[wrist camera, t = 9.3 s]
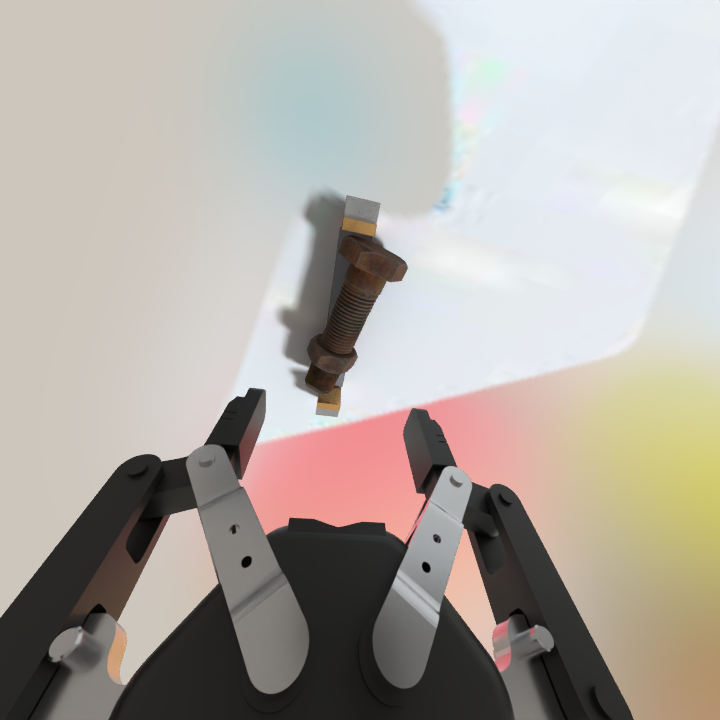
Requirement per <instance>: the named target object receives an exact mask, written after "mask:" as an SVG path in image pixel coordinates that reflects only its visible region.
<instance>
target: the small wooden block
mask: <svg viewBox="0 0 720 720" xmlns="http://www.w3.org/2000/svg"><path fill="white" fill-rule="evenodd" d="M340 404H341V387H339V386H334V388H333V391H331V392H329V393H328V394H320V393H319V395H318V402H317V409H316V415H324V416H334V417H338V412H339V410H340Z"/></svg>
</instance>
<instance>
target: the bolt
mask: <svg viewBox="0 0 720 720" xmlns="http://www.w3.org/2000/svg"><path fill="white" fill-rule="evenodd" d="M338 253H339V254H341V255H342V256H343V257H344V258H345V259H347V260H348V261H349V262H350V265H349V267H348V270H347V272H346V275H345V280H344V283H343V286H342V287H341V290H340V294H339V295H338V296H339V297H338V298H337V300H336V304H335V305H334V308H333V310H332V313H331V315H330V317H329V320H328V323H327V326H326V329H325V331H324V333H323V334H319V335H317V336H315V337H314V338H313V339H311V340H310V343H309V345H308V348H307V351H308V355H309V357H310V359H311V361H312V363H311V365H310V368H309V370H308V373H307V376H306V378H305V381H306V385H307V386H308V387H309V388H311V389H313V390H314V391H316V392H318V393H320V394H328V393H329V392H331V391H333V388H334V386H335V384H336V382H337V380H338V378H339V375H340V374H343V373H345V372H347V371H348V370H349V369H350V368H351V367H352V366H353V365H354V363H355V361H356V359H357V357H358V356H357V353H356V351H355V349H354V347H353V346H354V345H355V343H356V340H357V338H358V336H359V334H360V332H361V330H362V328H363V325H364V324H365V322H366V319H367V316H368V315H369V313H370V312H371V309H372V306H373V305H374V303H375V302H376V299H377V297H378V295H380V293H381V291H382V289H383V287H384V285H385V283H386V281H388V282H396V281H402V279H403V277H404V275H405V273H406V271H407V269H408V267H407V264H406V262H405V261H404V260H403V259H401V258H400V257H398V256H397V255H395V254H393V253H391V252H390V251H388V250H386V249H384V248H382V247H380V246H378V245H376V244H374V243H372V242H370V241H367V240H365V239H362V238H360V237H357V236H355V235H349V236H346V237H344V238H343V239H342V242H341V245H340V248H339V250H338Z"/></svg>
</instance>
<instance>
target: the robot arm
mask: <svg viewBox="0 0 720 720" xmlns="http://www.w3.org/2000/svg"><path fill="white" fill-rule="evenodd" d="M265 412H266V391H265V390H264V389H256V388H249V390H248V392H247V394H246V396H245V397H238V396H237V397H236V398H235V399H233V400H232V401H231V402H229V404H228V405H227V407H226V409H225V410H224V412H223V414H222V415H221V417H220V419H219V421H218V422H217V424H216V426H215V427H214V429H213V431H212V433H211V434H210V436H209V438H208V439H207V441H206V443H205V444H204V446H202V447H200V448H198V449H196V450H195V451H193V452H192V453H191V454H190V455H189V456H187V457H184V458H180V459H174V460H168V461H162V462H161V460H160V459H159V457H157V456H155V455H151V454H145V455H140V456H136V457H133V458H131V459H129V460H127V461H126V462H124V463H123V464H121V465H120V466H119V467H118V468H117V470H115V472H114V473H113V474H112V476H111V477H110V478H109V479H108V481H107V482H106V483H105V485H104V486H103V487H102V489H101V490H100V491H99V492H98V494H97V495H96V496H95V497H94V499H93V500H92V501H91V502H90V504H89V505H88V506H87V508H86V509H85V510H84V511H83V513H82V514H81V515H80V517H79V518H78V519H77V521H76V522H75V523H74V524H73V526H72V527H71V528H70V529H69V531H68V532H67V533H66V535H65V536H64V537H63V539H62V540H61V541H60V542H59V544H58V545H57V546H56V547H55V549H54V550H53V551H52V553H51V554H50V555H49V556H48V558H47V559H46V560H45V562H44V563H43V564H42V566H41V567H40V568H39V569H38V571H37V572H36V573H35V574H34V576H33V577H32V578H31V579H30V581H29V582H28V583H27V585H26V586H25V587H24V588H23V590H22V591H21V592H20V594H19V595H18V596H17V598H16V599H15V600H14V602H13V603H12V604H11V605H10V607H9V608H8V609H7V610H6V611H5V613H4V614H3V615H2V617H1V618H0V720H634V719H633V717H632V714H631V712H630V710H629V708H628V705H627V704H626V702H625V700H624V698H623V696H622V694H621V692H620V690H619V688H618V686H617V684H616V683H615V681H614V679H613V677H612V675H611V673H610V671H609V669H608V667H607V665H606V663H605V662H604V660H603V658H602V656H601V654H600V652H599V650H598V648H597V646H596V644H595V642H594V641H593V639H592V637H591V635H590V633H589V631H588V629H587V627H586V625H585V623H584V622H583V620H582V618H581V616H580V614H579V612H578V610H577V608H576V606H575V604H574V603H573V601H572V599H571V597H570V595H569V593H568V591H567V589H566V587H565V585H564V583H563V581H562V580H561V578H560V576H559V574H558V572H557V570H556V568H555V566H554V564H553V562H552V561H551V559H550V557H549V555H548V553H547V551H546V549H545V547H544V545H543V543H542V542H541V540H540V538H539V536H538V534H537V532H536V530H535V528H534V526H533V524H532V522H531V520H530V519H529V517H528V515H527V513H526V511H525V509H524V507H523V505H522V503H521V501H520V500H519V498H518V497H517V495H516V494H515V493H514V492H513V491H512V490H510V489H509V488H508V487H506V486H504V485H501V484H494V485H492V486H491V487H490V489H488V488H486V487H483V486H480V485H478V484H475V483H473V482H471V480H470V478H469V477H468V475H467V474H466V473H465V472H464V471H462V470H461V469H459V468H458V467H457V466H456V463H455V460H454V458H453V456H452V453H451V451H450V448H449V446H448V444H447V441H446V439H445V437H444V434H443V432H442V429H441V427H440V426H439V425H438V423H437V422H436V421H435V420H431V419H430V417H429V414H428V412H427V410H424V409H416V408H413V409H412V410H411V412H410V414H409V417H408V420H407V422H406V424H405V427H404V433H403V436H404V441H405V445H406V450H407V454H408V458H409V462H410V467H411V471H412V475H413V479H414V483H415V487H416V492H417V493H422V494H425V497H426V500H425V501H424V503H423V505H422V507H421V510H420V512H419V514H418V516H417V518H416V520H415V522H414V524H413V526H412V528H411V530H410V532H409V534H408V536H407V538H406V540H405V542H403V541H401V540H400V539H399V538H398V537H396V536H395V535H393V534H391V533H389V532H387V531H386V529H385V523H375V522H360V523H355V524H351V525H347V526H344V527H335V526H332V525H329V524H326V523H323V522H321V521H318V520H315V519H301V518H290V519H289V524H288V526H284V527H281V528H278V529H276V530H274V531H272V532H270V533H269V534H267V535H265V533H264V531H263V529H262V526H261V524H260V522H259V519H258V517H257V515H256V513H255V510H254V508H253V506H252V504H251V501H250V499H249V497H248V495H247V493H246V491H245V489H244V488H243V487H241V486H240V484H239V482H238V479H241V480H242V478H243V475H244V473H245V470H246V467H247V464H248V462H249V459H250V457H251V454H252V451H253V449H254V446H255V443H256V441H257V438H258V436H259V433H260V430H261V428H262V425H263V422H264V418H265ZM194 508H197V509H198V513H199V516H200V520H201V523H202V526H203V530H204V533H205V537H206V540H207V543H208V547H209V551H210V555H211V558H212V561H213V565H214V568H215V572H216V576H217V579H218V584H217V585H216V587H215V588H214V589H213V590H212V591H211V592H210V593H209V594H208V595H207V596H206V597H205V598H204V599H203V600H202V601H201V602H200V603H199V605H198V606H197V607H196V608H195V609H194V610H193V611H192V612H191V613H190V614H189V615H188V616H187V617H186V618H185V619H184V620H183V621H182V623H181V624H180V625H179V626H178V627H177V628H176V629H175V630H174V631H173V632H172V633H171V634H170V635H169V636H168V637H167V638H166V639H165V641H163V642H162V644H161V645H160V646H159V647H158V648H157V649H156V650H155V651H154V652H153V653H152V654H151V655H150V656H149V657H148V658H147V659H146V661H145V662H144V663H143V664H142V665H141V666H140V668H139V669H138V670H137V671H136V673H135V674H134V675H133V677H132V678H131V679H130V681H129V682H128V684H127V685H122V683H121V680H120V666H121V661H122V658H123V655H124V652H125V649H126V644H127V636H126V632H125V630H124V629H123V628H122V627H121V626H120V625H119V624H118V623H117V621H118V619H119V617H120V615H121V613H122V611H123V609H124V607H125V605H126V603H127V601H128V599H129V597H130V595H131V593H132V591H133V589H134V587H135V584H136V583H137V581H138V579H139V577H140V574H141V573H142V571H143V569H144V566H145V565H146V563H147V561H148V559H149V557H150V555H151V553H152V551H153V549H154V547H155V545H156V543H157V541H158V539H159V537H160V535H161V533H162V531H163V529H164V526H165V525H166V522H167V521H168V519H169V517H170V515H171V514H174V513H178V512H182V511H186V510H190V509H194ZM463 528H465V529H467V532H468V535H469V538H470V542H471V545H472V548H473V551H474V554H475V558H476V561H477V564H478V567H479V570H480V574H481V577H482V580H483V583H484V586H485V589H486V593H487V596H488V599H489V602H490V605H491V609H492V612H493V615H494V618H495V621H496V624H497V626H496V627H495V629H494V631H493V637H492V639H493V647H494V657H495V663H494V661H493V659H492V658H491V656H490V655H489V653H488V652H487V651H486V649H485V648H484V647H483V645H482V644H481V643H480V641H479V640H478V639H477V638H476V636H475V635H474V634H473V632H472V631H471V630H470V628H469V627H468V626H467V624H466V623H465V622H464V620H463V619H462V618H461V616H460V615H459V614H458V612H457V611H456V610H455V608H454V607H453V606H452V604H451V603H450V602H449V600H448V599H447V598H446V596H445V595H444V592H445V589H446V586H447V582H448V579H449V576H450V572H451V568H452V565H453V562H454V559H455V555H456V552H457V548H458V545H459V542H460V538H461V535H462V531H463Z"/></svg>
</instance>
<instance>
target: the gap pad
mask: <svg viewBox="0 0 720 720" xmlns="http://www.w3.org/2000/svg"><path fill="white" fill-rule="evenodd" d="M349 235H355V236H357V237H360V238H362V239H365V240H367V241H370V242H371V239H372V236H370V235H365V234H360V233H356V232H351V231H346V230H342V228H340V234H339V241H338V249H337V256H336V263H335V270H334V277H333V285H332V292H331V299H330V306H329V313H328V320H329V317H330V315H331V313H332V310H333V308H334V305H335V304H336V300H337V298H338V297H339V296H338V295H339V294H340V290H341V287H342V286H343V283H344V280H345V275H346V272H347V270H348V267H349V265H350V262H349V261H348V260H347V259H345V258H344V257H343V256H342V255H341V254H339V253H338V250H339V248H340V245H341V242H342V239H343V238H344V237H346V236H349ZM327 323H328V321H327ZM344 376H345V373H343V374H340V375H339V378H338V380H337V382H336V384H335V386H339V387H342V386H343V381H344Z"/></svg>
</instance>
